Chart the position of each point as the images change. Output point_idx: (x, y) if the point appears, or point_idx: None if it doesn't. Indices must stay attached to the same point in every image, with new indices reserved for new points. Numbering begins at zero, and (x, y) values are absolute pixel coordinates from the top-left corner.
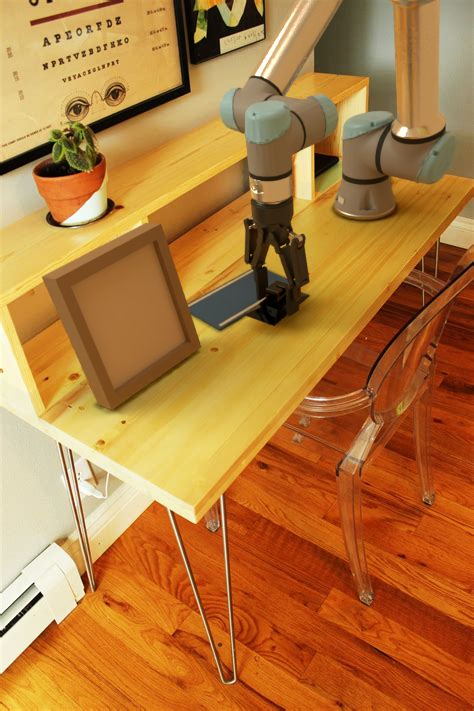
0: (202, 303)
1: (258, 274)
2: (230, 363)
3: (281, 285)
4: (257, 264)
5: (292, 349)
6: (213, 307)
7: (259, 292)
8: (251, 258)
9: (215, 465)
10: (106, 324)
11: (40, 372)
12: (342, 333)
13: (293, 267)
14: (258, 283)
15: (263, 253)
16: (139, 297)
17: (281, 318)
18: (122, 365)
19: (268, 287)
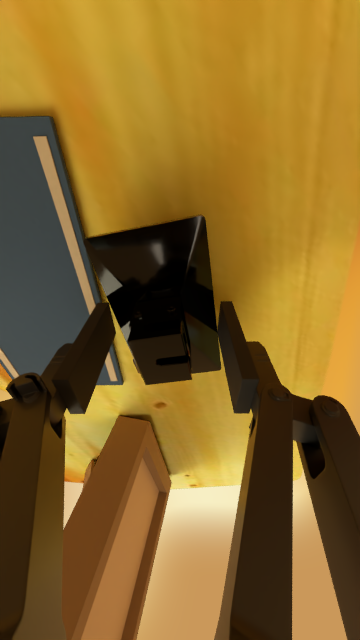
0: (22, 362)
1: (86, 401)
2: (203, 408)
3: (169, 353)
4: (62, 440)
5: (266, 347)
6: (48, 359)
7: (108, 349)
8: (2, 440)
9: (293, 466)
10: (126, 589)
11: (70, 481)
12: (350, 246)
13: (326, 546)
14: (99, 374)
15: (52, 503)
16: (101, 601)
17: (217, 349)
18: (148, 507)
19: (147, 380)
